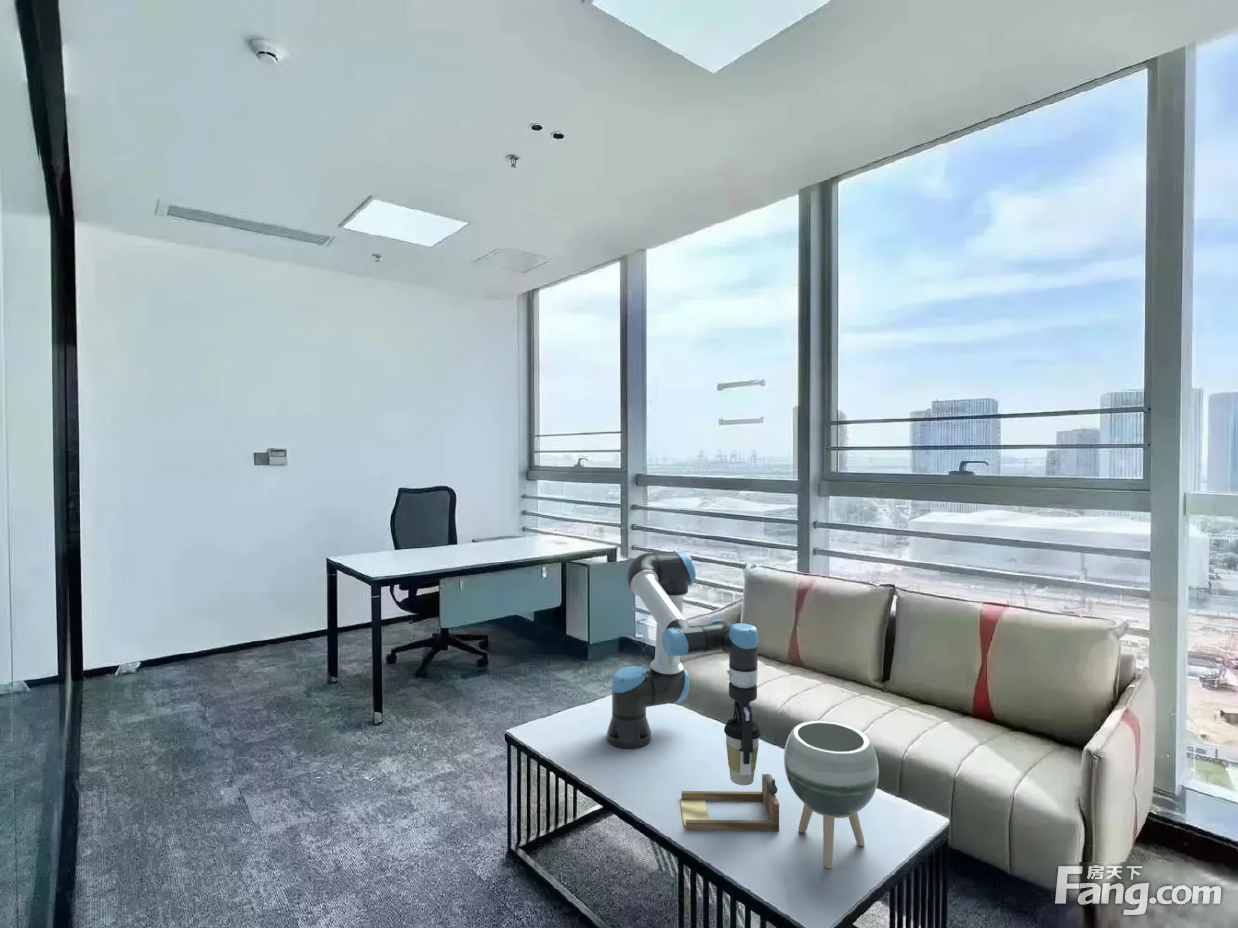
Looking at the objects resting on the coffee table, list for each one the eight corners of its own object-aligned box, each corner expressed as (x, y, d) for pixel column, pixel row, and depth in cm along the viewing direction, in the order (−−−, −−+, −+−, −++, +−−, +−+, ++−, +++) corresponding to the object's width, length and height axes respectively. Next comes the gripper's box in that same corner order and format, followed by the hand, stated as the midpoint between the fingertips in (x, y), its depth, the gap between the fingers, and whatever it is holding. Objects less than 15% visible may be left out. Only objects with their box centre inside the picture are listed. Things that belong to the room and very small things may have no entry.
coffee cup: (760, 791, 162) (761, 734, 161) (722, 786, 164) (723, 731, 163) (759, 771, 171) (760, 718, 171) (724, 767, 173) (724, 715, 173)
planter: (826, 888, 138) (826, 765, 138) (765, 833, 158) (765, 725, 158) (899, 862, 147) (899, 746, 147) (832, 813, 167) (832, 711, 167)
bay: (679, 797, 175) (679, 758, 175) (768, 798, 174) (768, 758, 174) (684, 829, 160) (684, 786, 160) (781, 830, 159) (781, 787, 159)
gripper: (722, 667, 178) (722, 743, 179) (736, 699, 156) (735, 786, 156) (748, 667, 178) (748, 743, 179) (765, 700, 155) (764, 786, 156)
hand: (741, 763), depth 167 cm, fingers closed on coffee cup, 10 cm apart
